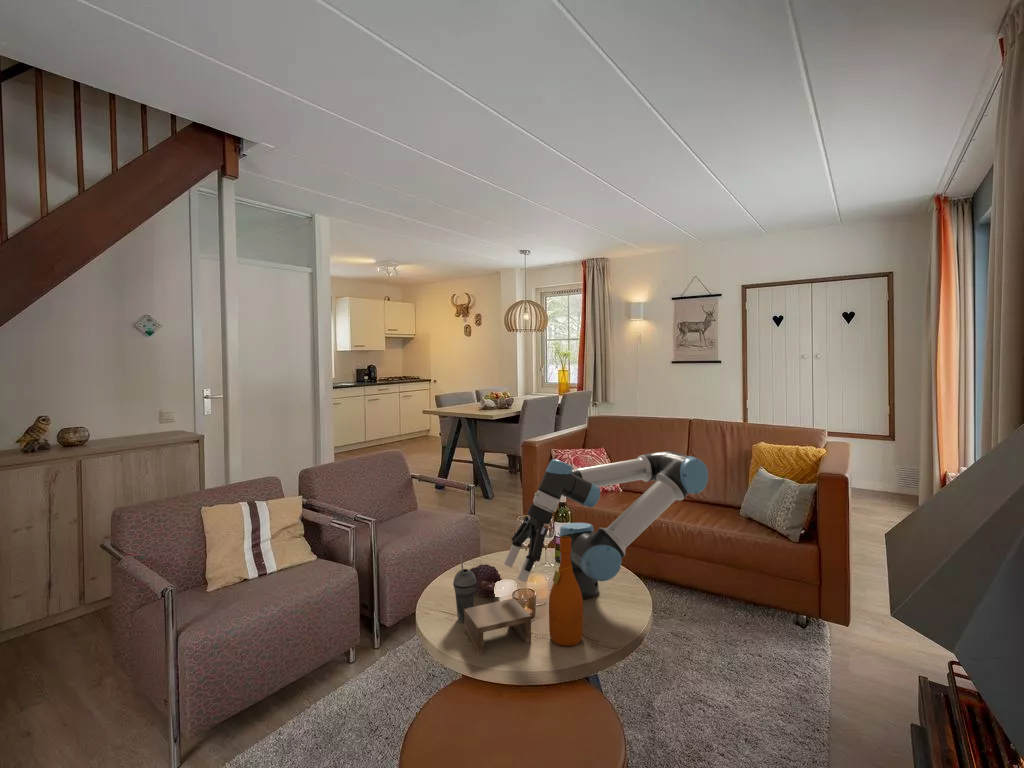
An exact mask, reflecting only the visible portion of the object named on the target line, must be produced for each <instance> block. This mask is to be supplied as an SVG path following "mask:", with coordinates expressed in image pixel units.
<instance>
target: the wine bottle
mask: <svg viewBox="0 0 1024 768" xmlns="http://www.w3.org/2000/svg"><path fill="white" fill-rule="evenodd" d="M571 552H572V549H571V538H570V537H569V536H562V537H560V536H559V554H560V553H561V563H560V562H559V566H558V570H555V571H554V574H553V578H552V581H553V583H552V586H551V589H550V592H549V593H550V594H549V597H548V598H549V599H548V627H549V629H548V631H549V637H550V640H551V641H552V642H553V643H554V644H556V645H558V646H562V647H572V646H576V645H578V644H579V643H580V642H581V641H582V640H583V636H584V630H583V629H584V599H583V598H582V594H581V590H580V588H579V585H578V583H577V580H576V578H575V576H574V573H573V569H572V564H571V559H570V553H571Z"/></svg>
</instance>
